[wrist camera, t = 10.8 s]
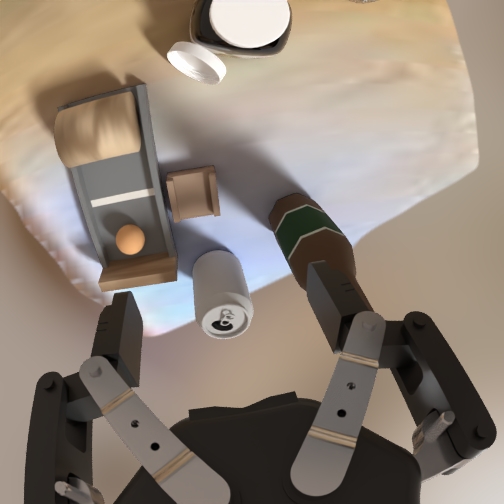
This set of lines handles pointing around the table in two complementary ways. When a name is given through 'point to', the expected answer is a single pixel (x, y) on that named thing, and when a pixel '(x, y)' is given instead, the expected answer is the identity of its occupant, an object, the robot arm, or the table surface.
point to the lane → (125, 191)
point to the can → (221, 295)
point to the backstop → (139, 272)
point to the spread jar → (230, 35)
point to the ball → (130, 239)
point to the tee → (193, 193)
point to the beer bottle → (311, 239)
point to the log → (98, 130)
